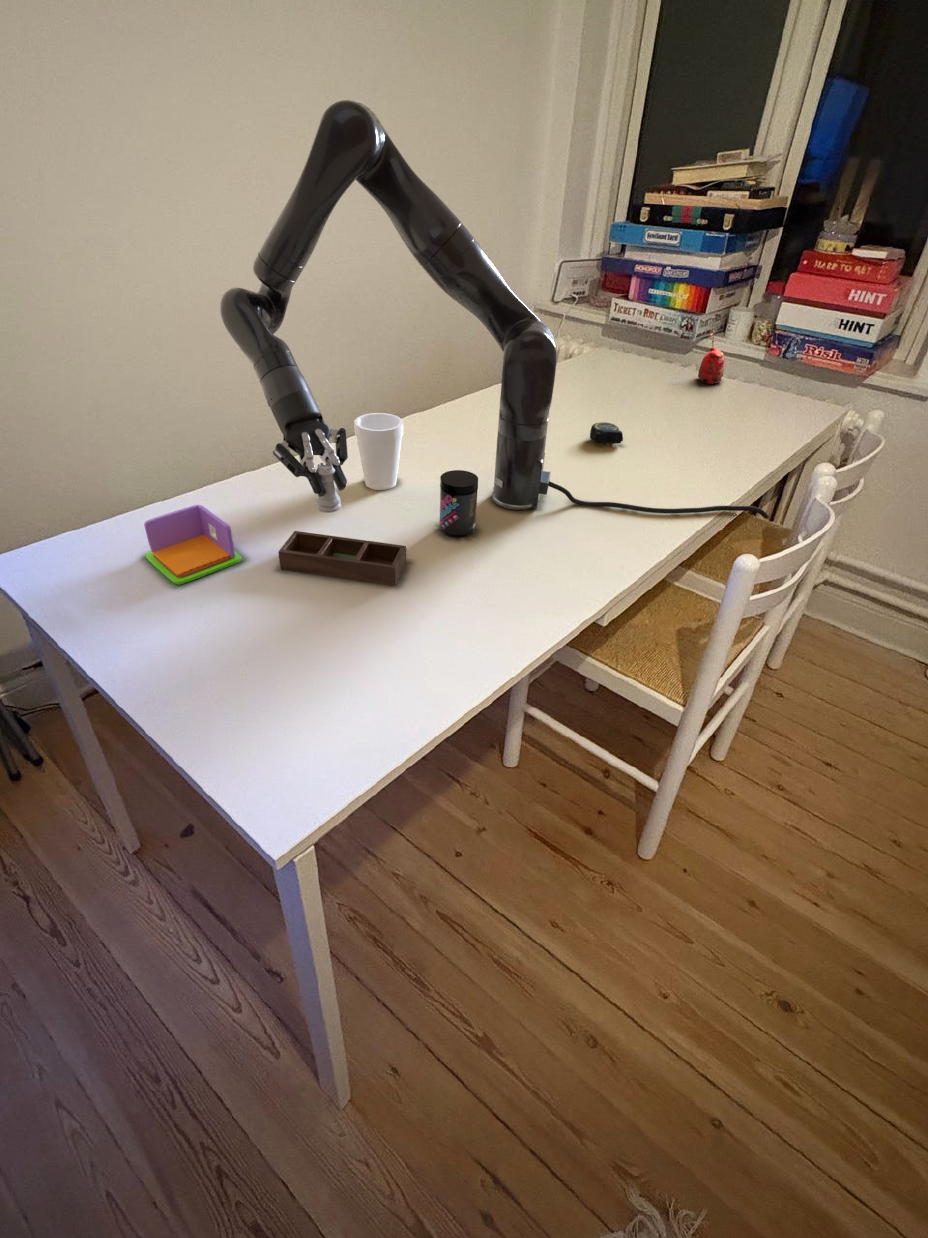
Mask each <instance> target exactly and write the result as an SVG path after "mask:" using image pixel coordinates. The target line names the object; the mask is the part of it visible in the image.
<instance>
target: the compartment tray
mask: <svg viewBox="0 0 928 1238" xmlns="http://www.w3.org/2000/svg"><path fill="white" fill-rule="evenodd" d="M277 554H278V559H279V569H280V571H281V570H282V571H287V572H288V571H289V572H295V573H303V574H310V575H316V576H322V577H331V578H337V579H343V580H344V579H345V580H350V581H351V580H352V581H359V582H364V583H371V584H372V583H373V584H379V585H386V586H394V587H396V585H397V584H398V582H399V580H400V578H401V576H402V574H403V572H404V569H405V568H406V565H407V545H402V544H394V543H387V542H380V541H372V540H365V539H359V538H351V537H343V536H336V535H328V534H322V533H313V532H308V531H299V530H294V531H293V533H291V535H290V536H289V537H288V538H287V540H286V541H285V543H283V545H282V546H281V547H280V549H278V551H277Z"/></svg>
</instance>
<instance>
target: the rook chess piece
mask: <svg viewBox="0 0 928 1238" xmlns="http://www.w3.org/2000/svg"><path fill="white" fill-rule="evenodd" d="M315 472H318V474H319V476H320V478H321V480H322V482H323V484H324V487H325V489H326V494H325V495H324V496H321V497H319V495H318V494H317V497H316V498H315V503H316V504H315V508H316V509H317V510H318V511H319V512H322V513H325V514H330V513H334V512H338V510H340V508H341V507H342V502H341V500H342V499H341V497H340V495H339V493H338V492H337V491H336V488H335V487H336V486H335V482H334V479H335V478H334V477H333V473H334V472H335V469H334V468H333V466H332V464H331V463H330V465H329V463H328V462H326V463H325V464H324V462H320V463H318V464H317V468H316V470H315Z"/></svg>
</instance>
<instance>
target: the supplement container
mask: <svg viewBox="0 0 928 1238" xmlns="http://www.w3.org/2000/svg"><path fill="white" fill-rule="evenodd" d="M439 483H440V484H439V523H438V525H439V530H440V532H441V533H442V534H443V535H444V536H447V537H450V538H455V539H462V538H463V539H464V538H467V537H469V536H471V535H472V534H473V533H474V532H475V531H476V525H477V524H476V521H477V504H478V491H479V490H478V489H479V477H478V475H477V474H475V473H473V472H471V471H469V470H464V469H463V470H462V469H454V470H448V471H445V472H443V473H442V474H441V475H440V477H439Z"/></svg>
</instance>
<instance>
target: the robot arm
mask: <svg viewBox="0 0 928 1238" xmlns="http://www.w3.org/2000/svg"><path fill="white" fill-rule="evenodd" d="M355 181H356V182H357V183H358V184H359V185H360V186H361V187H362V188H363V189H364V190H365V191H366V192H367V193H368V194H369V195H370V196H371V197H372V198H373V199H374V201H376V202H377V204H378V205H379V206H380V207H381V208H382V210H383V211H384V212H385V213H386V216H387V217H388V218H389V220H390V222H391V224H392V226H394V228H395V230H396V232H397V233H398V235H399V236H400V238H401V240H402V241H403V243H404V245H405V246H406V248H407V249H408V251H409V252H410V254H411V255H412V256H413V258H414V259H415V260H416V262H417V263H418V264H419V265H420V267H421V268H422V269H423V270H424V271H425V273H426V274H427V275H428V276H429V277H430V279H431V280H433V282H434V283H435V285H437V286H438V287H439V289H441V290H442V291H443V292H444V293H445V294H446V295H447V296H449V298H451V299H452V300H453V301H455V303H457V304H459V305H460V306H461V307H463V308H464V309H465V310H467V311H468V312H470V313H471V314H472V315H473V316H474V317H476V318H477V320H478V321H479V322H481V323H482V325H483V326H484V327H485V329H487V331H488V332H489V334H490V335H491V336H492V338H493V339H494V340H495V342H496V343H497V345H498V346H499V348H500V349H501V351H502V352H503V358H502V371H501V384H500V395H499V397H500V398H499V411H498V424H497V437H496V451H495V464H494V478H493V487H492V497H491V498H492V501H493V502H494V503H495V504H496V505H497V506H499V507H501V508H503V509H506V510H507V509H508V510H511V511H525V510H530V509H535V510H537V509H538V507H539V504H540V498H541V495H544V496H547V495H548V491H549V487H550V488H552V489H554V490H556V491H559V492H561V493H563V495H565V496H566V497H567V499H568V500H569V501H570V502H571V503H572V504H575V505H578V506H583V507H592V508H593V507H594V508H617V509H623V510H624V509H625V510H630V511H636V512H642V513H651V514H693V513H695V514H696V513H708V512H709V513H710V512H717V511H718V512H719V511H729V512H731V511H733V512H734V511H735V512H745V511H746V512H754V513H756V514H758V515H760V516H761V517H762V518H763V519H770V516H769V515H768V513H767V512H766V511H765V510H763V509H762V508H760V507H757V506H753V505H712V506H701V507H680V508H679V507H677V508H662V507H661V508H660V507H647V506H642V505H641V506H640V505H636V504H635V505H634V504H629V503H622V502H614V501H584V500H580V499H578V498H575V497H574V496H573V494H572V493H571V492H570V491H569V490H568V489H566V488H565V487H564V486H561V485H560V484H558V483H555V482H552V481H551V471H546V470H545V471H544V467H545V458H546V445H547V443H546V442H547V436H548V435H547V434H548V426H549V419H550V411H551V407H552V402H553V395H554V387H555V380H556V373H557V372H556V371H557V364H558V351H557V343H556V339H555V337H554V334H553V332H552V330H551V329H550V327H548V326H547V325H546V323H544V322H543V321H542V320H541V319H540V317H538V316H537V315H536V314H535V313H534V312H533V311H532V310H531V309H530V308H529V307H528V306H527V305H525V303H524V302H523V301H522V300H521V299H520V298H519V297H518V296H517V295H516V294H515V293H514V292H513V290H512V289H511V288H510V287H509V285H508V284H507V282H506V281H505V279H504V277H502V275H501V273H500V272H499V270H498V269H497V267H496V266H495V264H494V263H493V262H492V260H491V259H490V257H489V255H487V253H486V251H484V249H483V248H482V246H481V245H480V244H479V242H478V241H477V240H476V238H475V236H474V235H472V234H471V232H470V231H469V230H468V228H467V227H466V226H465V224H464V223H462V221H461V220H460V219H459V217H458V216H456V214H455V213H454V212H453V211H452V210H451V208H449V206H447V205H446V203H445V202H444V201H443V200H442V199H441V198H440V196H438V195H437V194H436V193H435V192H434V191H433V190H432V189H431V188H430V187H429V186H428V185H427V183H425V182H424V181H423V180H422V179H421V178H420V177H419V176H418V175H417V173H415V171H414V170H413V168H412V167H411V166H410V165H409V163H408V161H406V159H405V157H404V156H403V155H402V153H401V152H400V150H399V149H398V148H397V146H396V144H394V142H393V140H392V139H391V137H390V135H389V134H388V132H387V131H386V130H385V128H384V126H383V124H382V123H381V121H380V119H379V118H378V117H377V115H376V114H375V113H374V111H373V110H371V108H369V107H368V106H367V105H366V104H363V103H361V102H359V101H356V100H351V99H343V100H337V101H335V102H334V103H332V104H330V105H329V106H328V107H327V108H326V109H325V111H324V112H323V114H322V115H321V118H320V121H319V125H318V128H317V131H316V133H315V136H314V138H313V142H312V145H311V148H310V151H309V154H308V156H307V159H306V162H305V164H304V166H303V169H302V171H301V173H300V175H299V178H298V180H297V181H296V182H297V183H296V184H295V186H294V189H293V191H292V192H291V194H290V197H289V198H288V200H287V202H286V203H285V205H284V207H283V208H282V211H281V212H280V214H279V215H278V218H277V219H276V221H275V223H274V224H273V226H272V228H271V229H270V231H269V232H268V235H267V236H266V238H265V240H264V241H263V243H262V245H261V247H260V249H259V250H258V252H257V254H256V256H255V258H254V261H253V263H252V271H253V274H254V276H255V277H256V278H257V279H258V281H259V282H260V286H259V289H258V291H257V292H256V291H253V290H250V289H246V288H243V287H231V288H228V289H227V290H225V292H224V293H223V294H222V295H221V298H220V302H219V313H220V314H219V315H220V318H221V321H222V324H223V326H224V328H225V329H226V331H227V333H228V334H229V336H230V337H231V339H232V340H233V342H235V344H236V345H237V346H238V348H239V350H241V352H242V353H243V354H244V356H245V357H246V358H247V359H248V361H249V362H250V363H251V366H252V368H253V370H254V372H255V373H254V374H255V375H256V377H257V379H258V381H259V383H260V385H261V388H262V391H263V395H264V398H265V400H266V402H267V406H268V407H269V408H270V410H271V413H272V415H273V417H274V419H275V421H276V424H277V426H278V428H279V430H280V433H282V435H283V436H282V437H283V439H282V442H281V443H276V445H275V447H274V449H273V450H272V454H273V456H274V457H276V458H277V460H278V461H279V462H280V463H281V464H282V465H283V466H284V467H285V468H286V469H287V470H288V471H289V472H290V473H291V474H292V475H293V476H294V477H295V478H299V477H303V478H306V479H307V480H308V482H309V485H310V487H311V489H312V491H313V493H314V494H315V495H317V496H318V495H319V497H321V496H324V495H325V494H326V489H325V487H324V484H323V482H322V480H321V478H320V476H319V474H318V472H316V470H317V468H316V466H315V461H314V456H318V457H319V458H320V460H321V461H322V462H323V463H325V464H326V462H328V463H329V465H330V463H331V464H332V466H333V468H334V469H335V472H334V473H333V477H334V478H335V479H334V485H336V486H335V487H336V488H337V490H338V491H339V492H341V491H344V490H345V489H346V488H347V484H348V479H347V477H346V475H345V473H344V471H343V469H342V466H343V465H344V463H345V462H346V461H347V459H348V458H349V457H348V455H349V454H348V441H347V440H348V439H347V430H346V428H344V427H340V428H339V429H334V428H330V426H329V425H328V424H327V423H326V422H325V420H324V418H323V414H322V412H321V410H320V408H319V405H318V403H317V401H316V398H315V397H314V395H313V392H312V390H311V388H310V386H309V384H308V381H307V380H306V378H305V376H304V375H303V373H302V371H301V370H300V368H299V366H298V364H297V362H296V359H295V358H294V355H293V353H292V351H291V348H290V347H289V345H288V344H287V343H286V341H284V340H283V339H281V338H280V337H278V336H276V335H275V333H276V332H278V330H279V329H280V328H281V326H282V325H283V322H284V320H285V316H286V313H287V310H288V306H289V302H290V298H291V294H292V290H293V287H294V286H295V284H296V282H297V281H298V279H299V278H300V276H301V274H302V272H303V270H304V269H305V268H306V266H307V264H308V262H309V260H310V259H311V257H312V255H313V253H314V251H315V248H316V246H317V244H318V242H319V240H320V237H321V235H322V233H323V231H324V229H325V227H326V224H327V222H328V220H329V218H330V217H331V214H332V212H333V211H334V209H335V207H336V206H337V204H338V202H339V201H340V200H341V198H342V197H343V196H344V194H345V193H346V191H348V189H349V188H350V187H351V185H352V184H353V183H354V182H355ZM330 438H331V439H332V442H333V444H335V450H334V448H333V446H332V445H331V444H330ZM291 450H292V451H293V452H295V453H296V454H297V455H298V457H299V458H298V459H299V460H298V459H297V458H296V457H295V456H294V455H293V454H292V453H291Z"/></svg>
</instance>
